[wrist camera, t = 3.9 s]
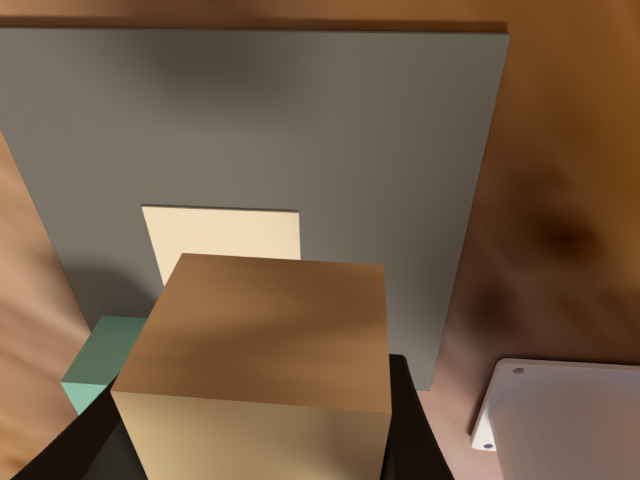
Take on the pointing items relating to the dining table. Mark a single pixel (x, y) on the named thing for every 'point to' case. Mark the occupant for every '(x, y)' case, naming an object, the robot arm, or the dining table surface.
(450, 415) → the dining table surface
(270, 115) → the grey flat slab
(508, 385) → the robot arm
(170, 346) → the maple block
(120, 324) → the teal cube
